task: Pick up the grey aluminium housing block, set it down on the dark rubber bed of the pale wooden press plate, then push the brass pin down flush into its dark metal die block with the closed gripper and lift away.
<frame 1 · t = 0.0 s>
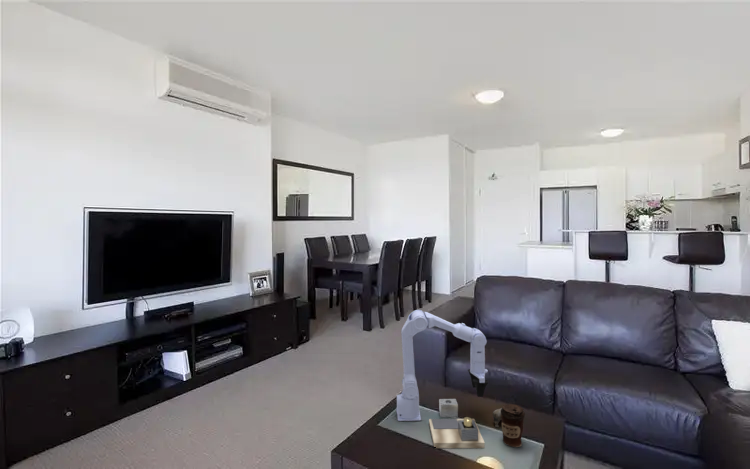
hand: (477, 391, 151), 10 cm above the table, tool pointing down, fingers open, 7 cm apart
housing: (448, 414, 153), on the table
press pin: (467, 424, 135), point 6 cm above the table, slide at 0.0 cm
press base: (455, 435, 139), on the table
coffee cup: (512, 443, 134), on the table
rhino figurine: (505, 421, 148), on the table
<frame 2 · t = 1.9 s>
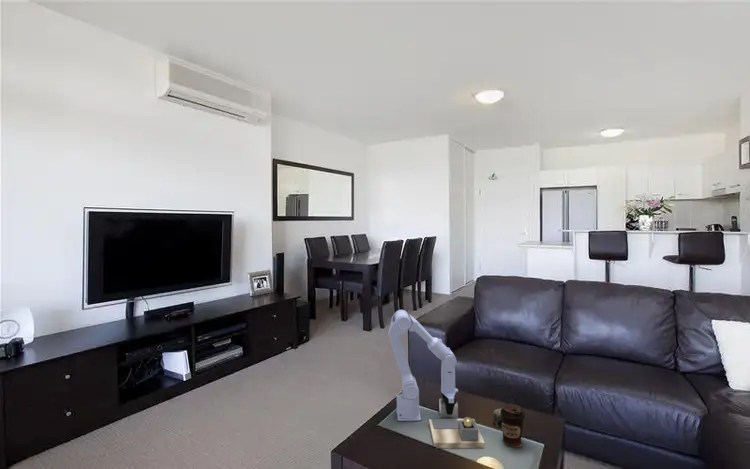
hand: (448, 410, 153), 1 cm above the table, tool pointing down, fingers closed on housing, 4 cm apart
housing: (448, 414, 153), on the table, touching gripper
everything else where it was.
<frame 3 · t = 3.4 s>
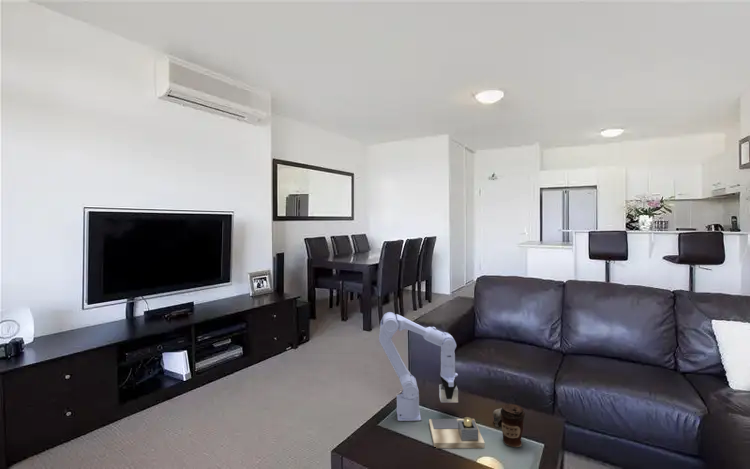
hand: (448, 395, 152), 8 cm above the table, tool pointing down, fingers closed on housing, 4 cm apart
housing: (448, 399, 152), point 7 cm above the table, touching gripper
everything else where it was.
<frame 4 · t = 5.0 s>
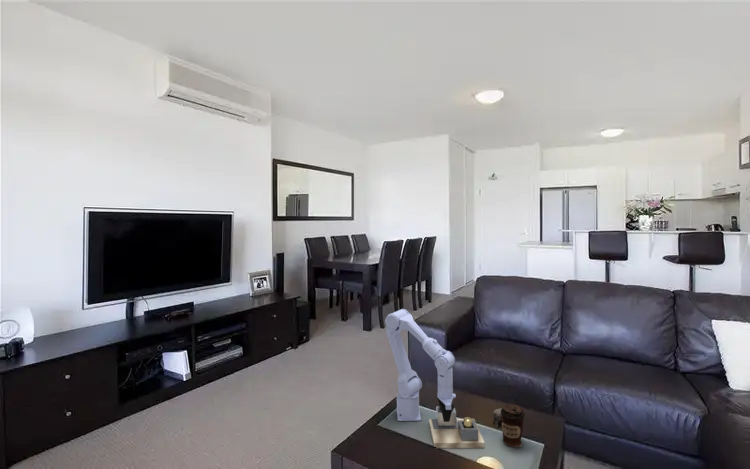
hand: (445, 417, 143), 5 cm above the table, tool pointing down, fingers closed on housing, 4 cm apart
housing: (446, 422, 143), point 2 cm above the table, touching gripper
everything else where it was.
when the fingers open (5 cm above the table, at t = 5.1 s): housing stays where it is, resting on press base.
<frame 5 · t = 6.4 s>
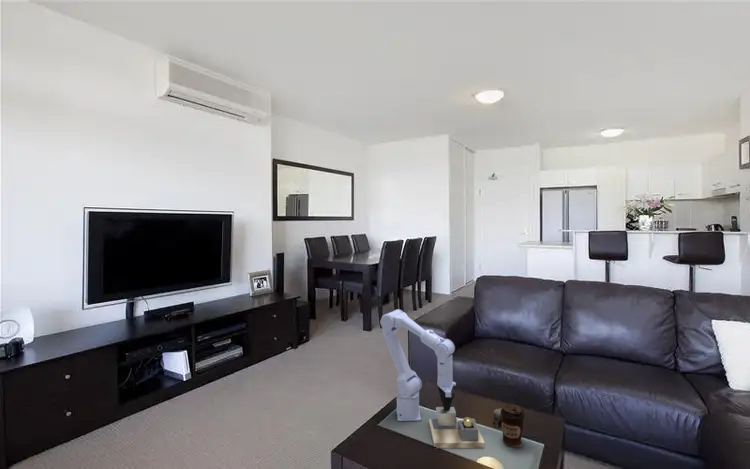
hand: (445, 405, 142), 9 cm above the table, tool pointing down, fingers open, 6 cm apart
housing: (446, 423, 143), point 2 cm above the table, touching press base
everything else where it was.
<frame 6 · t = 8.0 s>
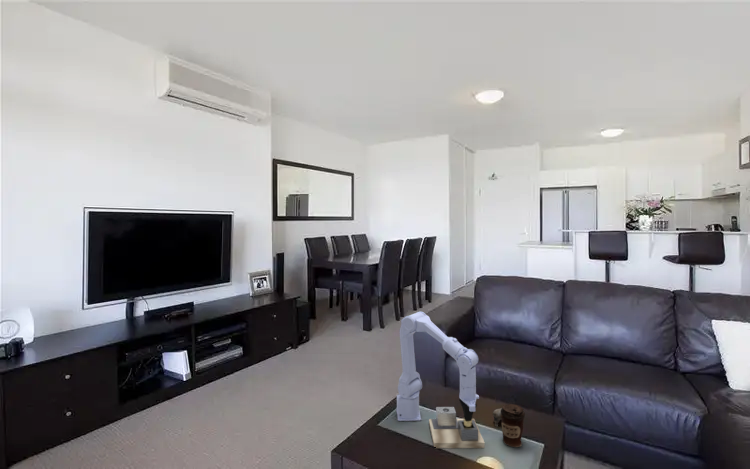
hand: (467, 419, 135), 8 cm above the table, tool pointing down, fingers closed, pressing on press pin
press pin: (467, 425, 135), point 6 cm above the table, slide at -0.1 cm, touching gripper
everything else where it was.
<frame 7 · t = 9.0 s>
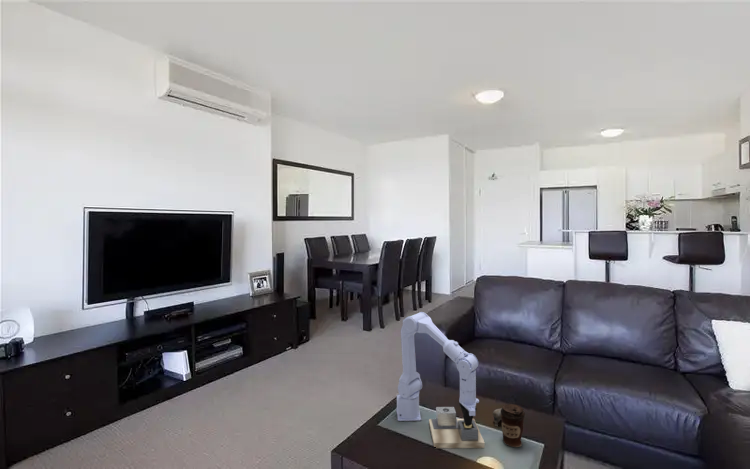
hand: (467, 423, 135), 7 cm above the table, tool pointing down, fingers closed
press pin: (467, 429, 135), point 4 cm above the table, slide at -1.9 cm
everything else where it was.
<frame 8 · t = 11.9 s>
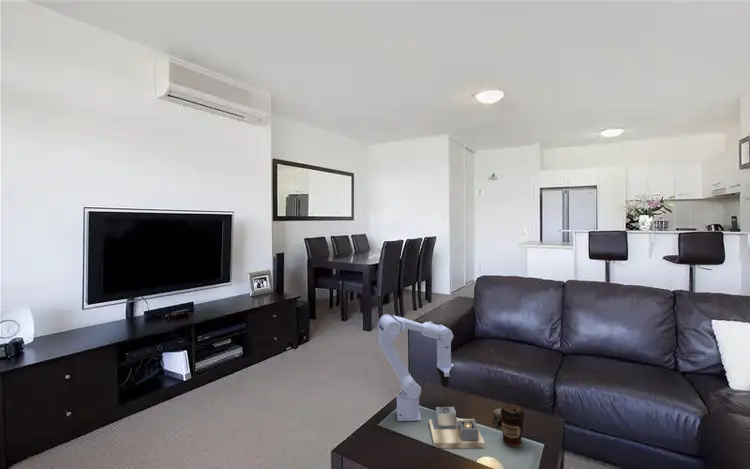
hand: (444, 385, 157), 10 cm above the table, tool pointing down, fingers closed
nothing on the table moved.
at the end: housing 0.2 cm from the target spot on the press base, point 2.2 cm above the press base's base; housing tilted 0°; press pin slide at -1.9 cm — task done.
